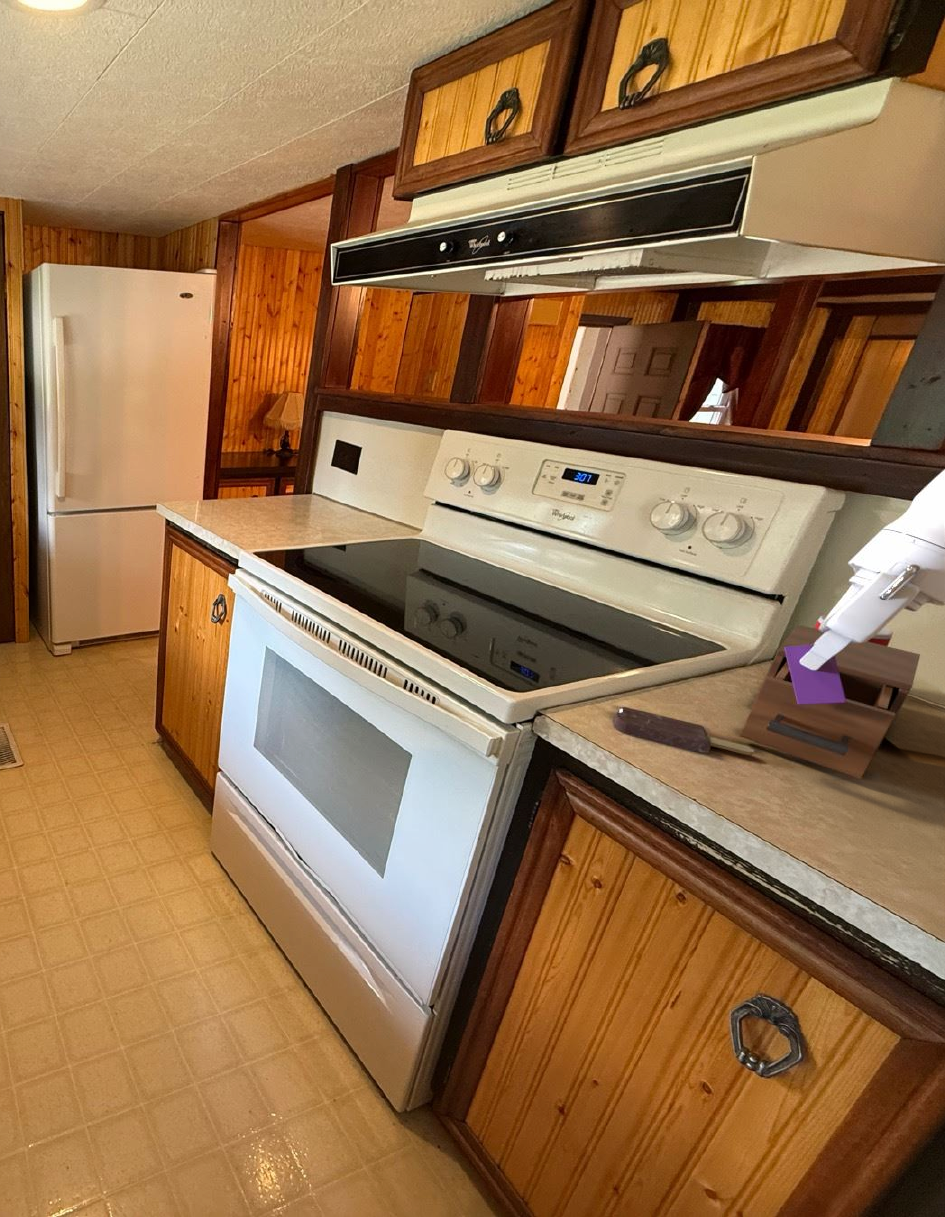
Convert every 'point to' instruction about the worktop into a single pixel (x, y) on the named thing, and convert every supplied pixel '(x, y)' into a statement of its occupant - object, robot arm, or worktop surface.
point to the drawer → (822, 722)
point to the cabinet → (862, 664)
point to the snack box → (814, 679)
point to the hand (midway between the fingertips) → (805, 666)
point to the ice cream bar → (671, 731)
